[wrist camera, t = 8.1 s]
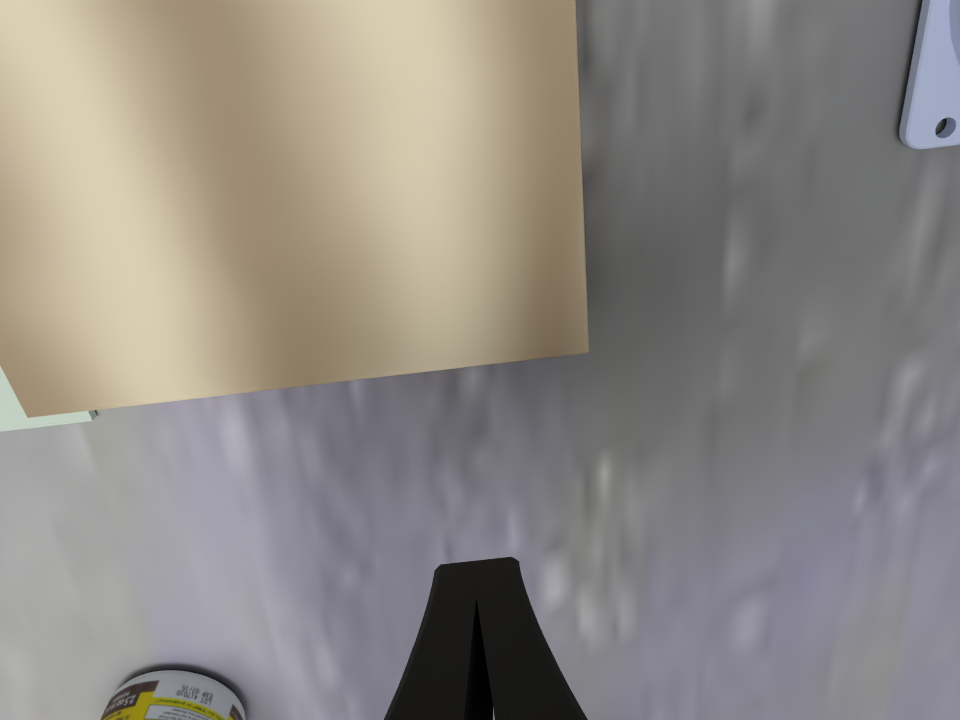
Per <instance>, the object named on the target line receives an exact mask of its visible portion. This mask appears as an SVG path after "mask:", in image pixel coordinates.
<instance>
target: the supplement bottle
mask: <svg viewBox="0 0 960 720" xmlns="http://www.w3.org/2000/svg"><path fill="white" fill-rule="evenodd" d="M101 720H246V718H245V713H244V709H243V707H242V704H241V703H240V701H239V699H238V698H237V697H236V695H235V694H234V693H233V692H232V691H231V690H230V689H228V688H227V687H226V686H224V685H223V684H221V683H219V682H218V681H215V680H213V679H211V678H209V677H206V676H203V675H200V674H197V673H192V672H187V671H178V670H164V671H155V672H150V673H146V674H143V675H140V676H138V677H135V678H133V679H131V680H130V681H128V682H127V683H125V684H124V685H123V686H121V687H120V688H119V689H118V690H117V691H116V692H115V694H114V695H113V696H112V698H111V699H110V701H109V703H108V705H107V707H106V709H105V711H104V713H103V715H102V717H101Z"/></svg>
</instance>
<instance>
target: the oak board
mask: <svg viewBox="0 0 960 720" xmlns="http://www.w3.org/2000/svg"><path fill="white" fill-rule="evenodd" d="M583 353H589V339H588V313H587V287H586V262H585V236H584V210H583V184H582V158H581V132H580V106H579V80H578V54H577V28H576V2H575V0H0V366H1V368H2V370H3V372H4V374H5V376H6V378H7V380H8V382H9V383H10V385H11V387H12V389H13V391H14V393H15V395H16V397H17V399H18V401H19V403H20V405H21V406H22V408H23V410H24V412H25V414H26V416H27V418H31V417H40V416H48V415H57V414H66V413H74V412H83V411H92V410H100V409H109V408H117V407H126V406H135V405H143V404H152V403H161V402H169V401H178V400H186V399H195V398H204V397H212V396H221V395H230V394H238V393H247V392H255V391H264V390H273V389H281V388H290V387H299V386H307V385H316V384H324V383H333V382H342V381H350V380H359V379H368V378H376V377H385V376H394V375H402V374H411V373H419V372H428V371H437V370H445V369H454V368H463V367H471V366H480V365H488V364H497V363H506V362H514V361H523V360H532V359H540V358H549V357H557V356H566V355H575V354H583Z"/></svg>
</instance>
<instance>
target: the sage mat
mask: <svg viewBox="0 0 960 720" xmlns="http://www.w3.org/2000/svg"><path fill="white" fill-rule="evenodd" d="M96 416H97V415H96V413H95V410H92V411H83V412H74V413H66V414H57V415H48V416H40V417H31V418H27V416H26V414H25V412H24V410H23V408H22V406H21V405H20V403H19V401H18V399H17V397H16V395H15V393H14V391H13V389H12V387H11V385H10V383H9V382H8V380H7V378H6V376H5V374H4V372H3V370H2V368H1V366H0V432H1V431H9V430H18V429H27V428H35V427H44V426H53V425H61V424H70V423H79V422H87V421H93V420H94V419H95V417H96Z"/></svg>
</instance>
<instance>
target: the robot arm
mask: <svg viewBox="0 0 960 720" xmlns="http://www.w3.org/2000/svg"><path fill="white" fill-rule="evenodd" d="M944 118H946V120H947V124H946V126H945V128H944V130H943V131H942V132H940V133H939V134H936V133H935V129H936V127H937V124H938V123H939V122H940V121H941V120H942V119H944ZM899 136H900V139H901V141H902V143H904V144H905V145H907V146H909V147H911V148H914V149H928V148H937V147H945V146H953V145H960V0H923V2H922V7H921V13H920V18H919V24H918V29H917V35H916V41H915V46H914V52H913V57H912V63H911V68H910V74H909V79H908V85H907V90H906V96H905V102H904V107H903V113H902V118H901V124H900V129H899ZM493 707H494V716H495V720H588V719H587V718H586V716H585V714H584V713H583V711H582V709H581V707H580V705H579V704H578V702H577V700H576V698H575V697H574V695H573V693H572V691H571V689H570V688H569V686H568V684H567V682H566V680H565V678H564V676H563V674H562V672H561V671H560V669H559V666H558V664H557V662H556V660H555V658H554V656H553V654H552V652H551V650H550V648H549V646H548V644H547V642H546V640H545V638H544V635H543V633H542V631H541V629H540V626H539V624H538V621H537V619H536V616H535V614H534V611H533V609H532V606H531V604H530V601H529V598H528V595H527V593H526V589H525V586H524V583H523V579H522V575H521V571H520V566H519V561H517V560H516V559H514V558H513V557H505V558H496V559H487V560H478V561H469V562H460V563H451V564H442V565H440V566H439V567H438V568H437V569H436V570H435V572H434V578H433V583H432V587H431V591H430V595H429V599H428V603H427V607H426V610H425V613H424V617H423V620H422V623H421V626H420V629H419V632H418V635H417V638H416V641H415V644H414V646H413V649H412V652H411V655H410V657H409V660H408V663H407V665H406V668H405V671H404V673H403V676H402V679H401V681H400V684H399V686H398V688H397V691H396V693H395V695H394V698H393V700H392V702H391V704H390V707H389V709H388V711H387V714H386V716H385V718H384V720H493Z"/></svg>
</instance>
